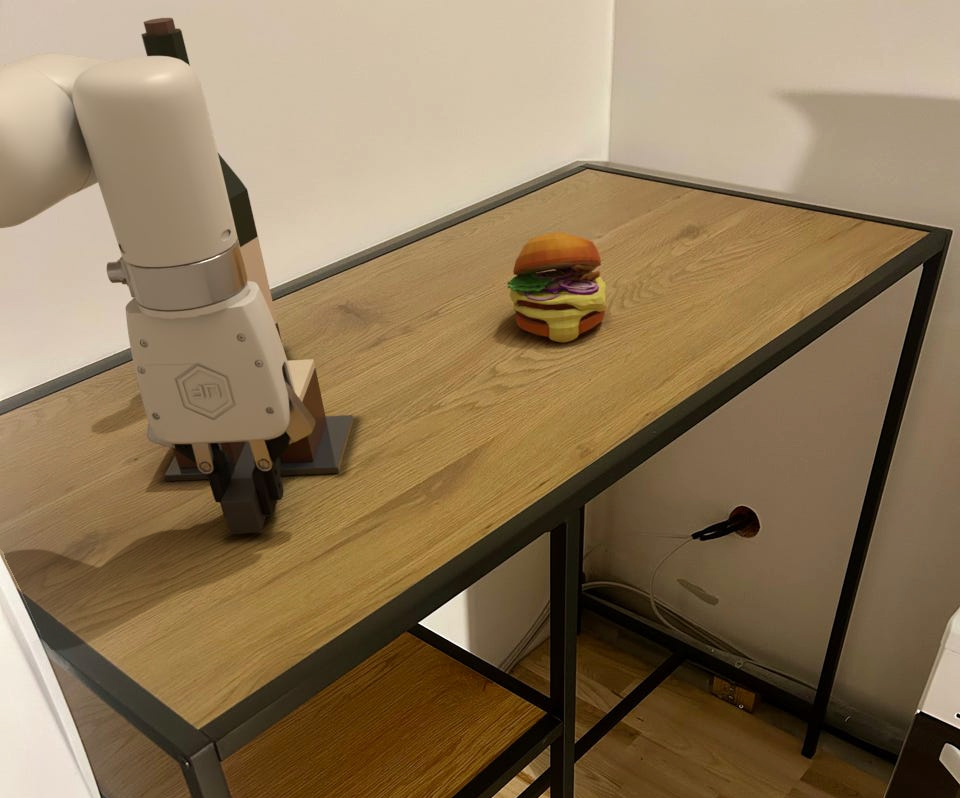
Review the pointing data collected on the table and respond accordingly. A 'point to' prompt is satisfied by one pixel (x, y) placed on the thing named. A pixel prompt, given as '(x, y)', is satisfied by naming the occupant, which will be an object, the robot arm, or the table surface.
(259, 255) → the wine bottle
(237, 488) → the knife
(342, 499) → the table surface
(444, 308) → the table surface
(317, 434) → the cake slice
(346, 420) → the board
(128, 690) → the table surface
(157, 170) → the robot arm
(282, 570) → the table surface
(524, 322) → the cheeseburger
